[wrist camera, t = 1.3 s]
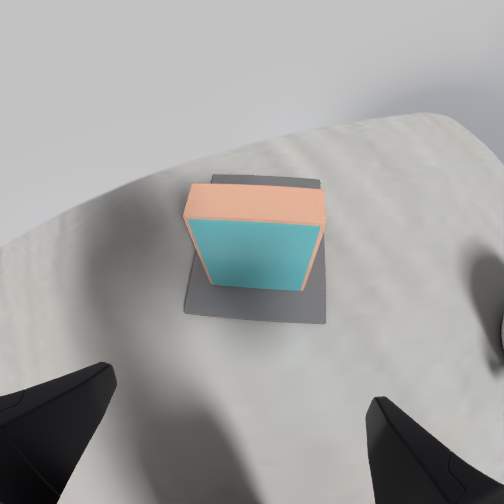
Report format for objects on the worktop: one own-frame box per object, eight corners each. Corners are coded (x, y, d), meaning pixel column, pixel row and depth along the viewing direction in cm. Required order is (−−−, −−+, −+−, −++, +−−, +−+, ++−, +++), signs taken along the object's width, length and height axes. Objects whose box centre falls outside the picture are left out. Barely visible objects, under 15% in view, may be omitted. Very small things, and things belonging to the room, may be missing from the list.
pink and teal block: (303, 292, 23) (326, 225, 15) (210, 285, 24) (182, 217, 15) (303, 264, 25) (323, 189, 16) (215, 259, 25) (192, 183, 16)
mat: (324, 323, 22) (325, 322, 22) (185, 313, 23) (183, 311, 23) (319, 182, 30) (319, 179, 30) (214, 177, 31) (213, 174, 31)
